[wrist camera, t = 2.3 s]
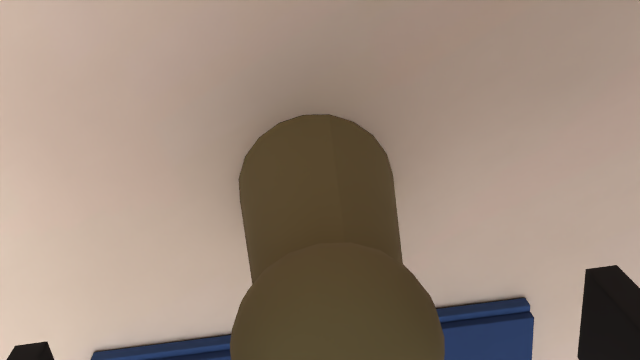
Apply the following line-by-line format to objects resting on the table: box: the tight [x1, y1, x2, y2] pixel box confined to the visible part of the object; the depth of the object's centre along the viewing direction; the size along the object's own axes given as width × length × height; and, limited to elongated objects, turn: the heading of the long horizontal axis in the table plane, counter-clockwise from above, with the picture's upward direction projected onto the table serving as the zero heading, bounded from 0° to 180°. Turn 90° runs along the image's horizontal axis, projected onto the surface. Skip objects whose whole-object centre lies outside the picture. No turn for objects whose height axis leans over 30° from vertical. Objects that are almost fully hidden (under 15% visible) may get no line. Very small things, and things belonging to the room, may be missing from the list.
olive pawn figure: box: [230, 115, 445, 360], centre depth 18 cm, size 6×6×11 cm
